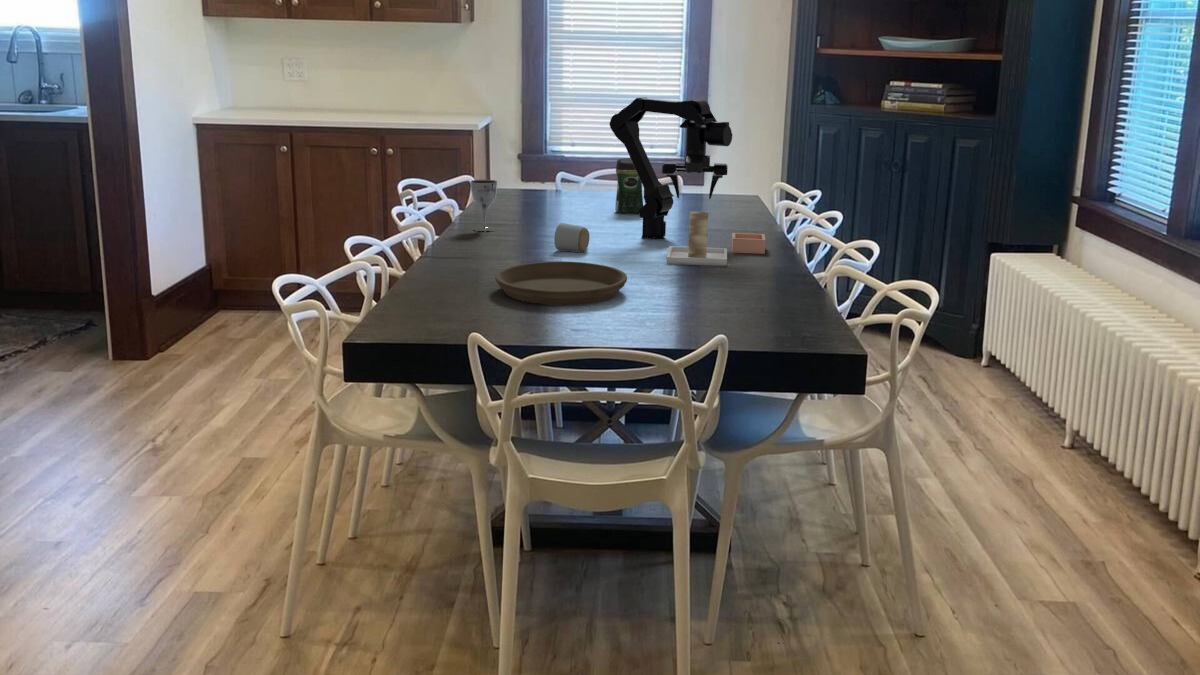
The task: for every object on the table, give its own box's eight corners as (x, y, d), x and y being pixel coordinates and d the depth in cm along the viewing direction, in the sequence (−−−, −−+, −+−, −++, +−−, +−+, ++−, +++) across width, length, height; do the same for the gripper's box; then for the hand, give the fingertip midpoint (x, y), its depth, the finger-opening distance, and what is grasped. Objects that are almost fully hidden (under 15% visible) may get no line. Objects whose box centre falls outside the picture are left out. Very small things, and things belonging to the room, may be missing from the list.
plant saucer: (580, 315, 240) (580, 295, 239) (468, 296, 256) (467, 277, 255) (650, 289, 266) (651, 271, 265) (544, 273, 282) (544, 256, 280)
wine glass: (466, 231, 338) (466, 181, 334) (479, 227, 345) (478, 179, 341) (489, 233, 335) (489, 183, 331) (501, 229, 342) (501, 180, 338)
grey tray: (666, 263, 295) (666, 257, 295) (669, 252, 310) (669, 246, 310) (726, 266, 294) (727, 259, 293) (726, 254, 309) (726, 248, 308)
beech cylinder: (684, 256, 302) (686, 213, 298) (694, 254, 305) (696, 211, 302) (699, 259, 299) (701, 215, 295) (709, 256, 302) (711, 213, 299)
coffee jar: (641, 210, 383) (643, 156, 378) (644, 214, 375) (645, 159, 370) (613, 210, 382) (615, 156, 377) (615, 214, 374) (617, 159, 369)
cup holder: (731, 254, 309) (732, 238, 308) (731, 248, 318) (732, 233, 317) (764, 255, 308) (765, 239, 307) (763, 249, 317) (764, 234, 316)
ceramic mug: (580, 254, 305) (581, 227, 303) (553, 252, 308) (553, 224, 306) (594, 248, 315) (595, 222, 313) (568, 246, 318) (569, 219, 316)
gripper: (661, 146, 312) (660, 201, 316) (728, 147, 310) (726, 203, 314) (664, 142, 322) (662, 196, 327) (728, 144, 320) (726, 197, 325)
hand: (694, 198), depth 323 cm, fingers open, 9 cm apart
